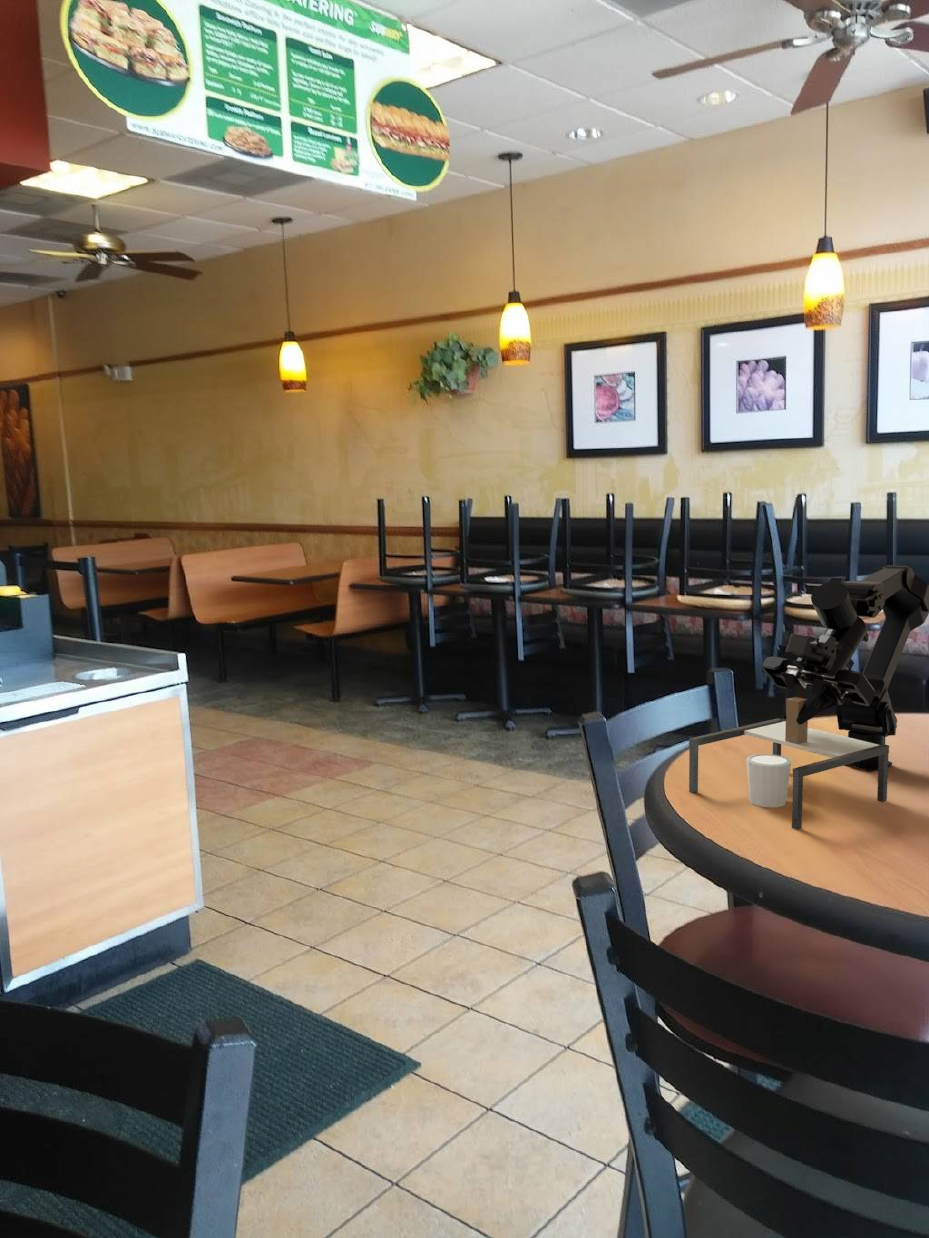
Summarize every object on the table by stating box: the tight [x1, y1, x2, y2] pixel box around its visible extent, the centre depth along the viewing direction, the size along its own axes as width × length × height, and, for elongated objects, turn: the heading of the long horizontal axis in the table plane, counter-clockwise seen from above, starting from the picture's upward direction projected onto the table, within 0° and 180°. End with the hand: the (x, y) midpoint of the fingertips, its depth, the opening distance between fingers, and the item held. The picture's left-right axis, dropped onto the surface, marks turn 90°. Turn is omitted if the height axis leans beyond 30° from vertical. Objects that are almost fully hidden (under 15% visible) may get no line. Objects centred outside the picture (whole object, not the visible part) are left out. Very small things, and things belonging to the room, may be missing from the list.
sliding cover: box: [744, 697, 878, 758], centre depth 164 cm, size 10×19×8 cm, turn 33°
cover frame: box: [688, 718, 890, 830], centre depth 162 cm, size 22×22×9 cm
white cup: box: [745, 753, 792, 809], centre depth 160 cm, size 7×7×7 cm
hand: (790, 721), depth 162 cm, fingers closed on sliding cover, 2 cm apart
